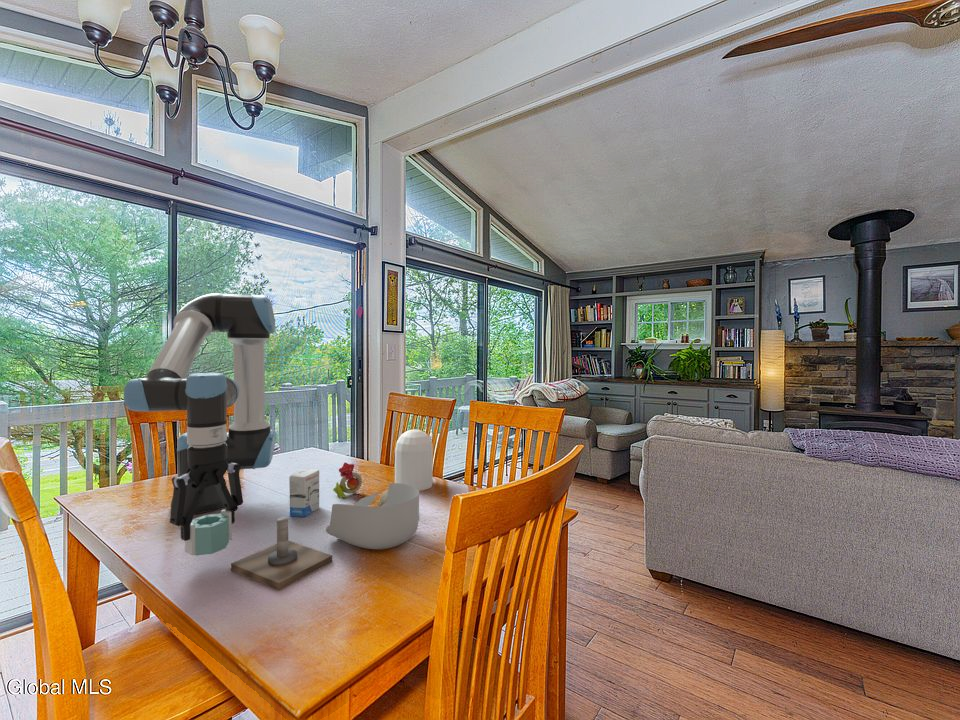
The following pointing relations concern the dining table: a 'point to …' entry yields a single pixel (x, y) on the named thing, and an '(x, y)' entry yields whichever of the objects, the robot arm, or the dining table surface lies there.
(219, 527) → the collar
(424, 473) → the container
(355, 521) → the bowl
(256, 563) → the shaft board
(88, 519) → the dining table surface
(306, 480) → the ink box
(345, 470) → the bird rattle
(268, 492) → the dining table surface
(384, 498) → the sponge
